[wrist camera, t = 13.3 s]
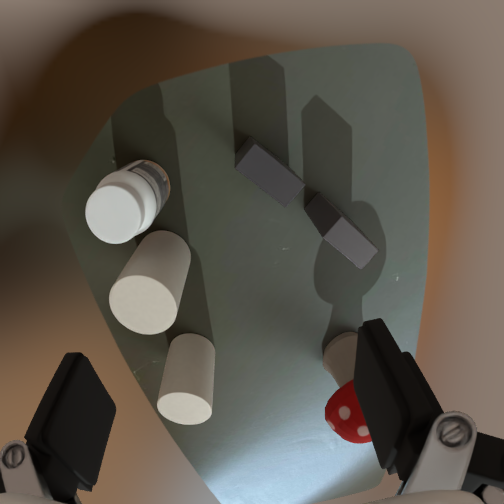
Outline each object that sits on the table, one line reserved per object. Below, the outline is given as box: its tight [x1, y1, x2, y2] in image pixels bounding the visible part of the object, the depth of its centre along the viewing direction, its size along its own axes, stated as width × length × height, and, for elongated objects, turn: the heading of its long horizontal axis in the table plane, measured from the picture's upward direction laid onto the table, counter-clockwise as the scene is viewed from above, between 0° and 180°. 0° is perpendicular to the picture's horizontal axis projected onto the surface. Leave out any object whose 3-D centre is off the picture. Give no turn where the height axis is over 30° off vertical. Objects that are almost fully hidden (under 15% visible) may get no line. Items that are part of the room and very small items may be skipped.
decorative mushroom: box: [323, 332, 372, 443], centre depth 35 cm, size 10×9×15 cm
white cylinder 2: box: [157, 333, 215, 425], centre depth 36 cm, size 6×6×10 cm
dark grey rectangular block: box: [304, 192, 379, 269], centre depth 30 cm, size 5×2×8 cm, turn 51°
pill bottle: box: [85, 160, 170, 244], centre depth 27 cm, size 6×6×10 cm
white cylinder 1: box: [109, 230, 191, 334], centre depth 30 cm, size 6×6×10 cm
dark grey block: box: [235, 136, 306, 207], centre depth 27 cm, size 5×2×8 cm, turn 51°
